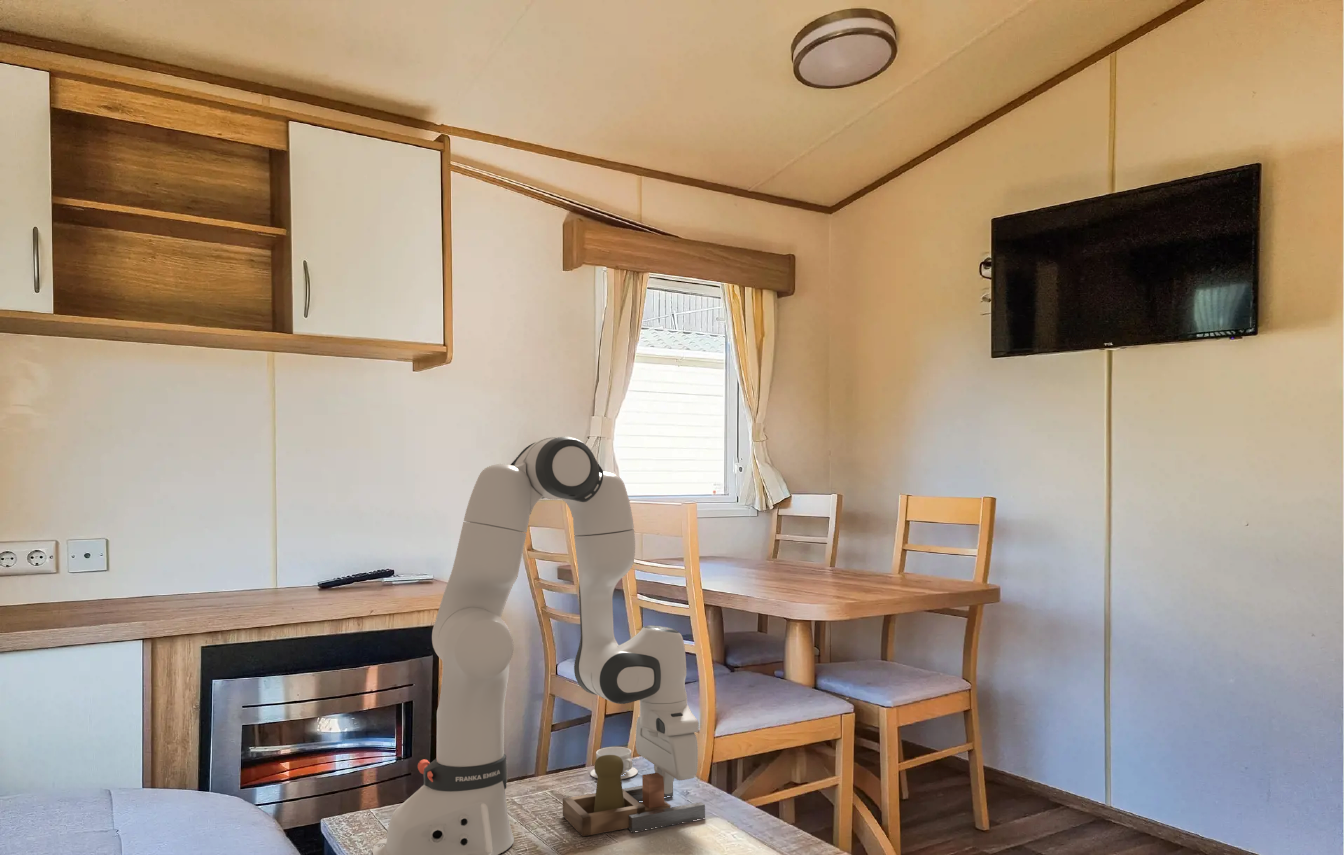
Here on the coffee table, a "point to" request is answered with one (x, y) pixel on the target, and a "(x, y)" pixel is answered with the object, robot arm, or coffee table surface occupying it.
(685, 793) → the coffee table surface
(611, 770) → the cork
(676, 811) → the lane rails
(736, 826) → the coffee table surface
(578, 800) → the frame
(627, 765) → the teacup
